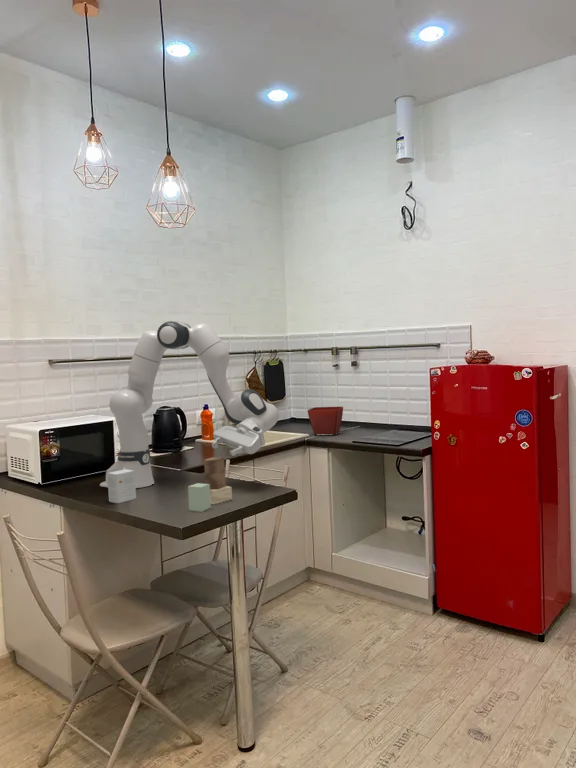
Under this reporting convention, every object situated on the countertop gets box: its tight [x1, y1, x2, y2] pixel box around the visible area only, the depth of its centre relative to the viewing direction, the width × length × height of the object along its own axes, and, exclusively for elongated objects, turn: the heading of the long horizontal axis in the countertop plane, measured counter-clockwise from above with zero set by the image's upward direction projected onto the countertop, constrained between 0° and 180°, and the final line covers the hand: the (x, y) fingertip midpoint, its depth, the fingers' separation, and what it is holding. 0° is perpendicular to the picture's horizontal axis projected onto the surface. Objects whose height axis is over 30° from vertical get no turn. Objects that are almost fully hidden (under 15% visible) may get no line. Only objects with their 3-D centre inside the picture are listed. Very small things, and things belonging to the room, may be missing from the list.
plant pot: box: [307, 406, 344, 435], centre depth 368 cm, size 19×19×17 cm
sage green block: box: [187, 482, 212, 513], centre depth 192 cm, size 5×5×8 cm
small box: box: [107, 469, 137, 504], centre depth 210 cm, size 8×6×10 cm
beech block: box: [210, 485, 233, 504], centre depth 203 cm, size 8×8×5 cm
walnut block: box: [203, 456, 227, 489], centre depth 202 cm, size 5×5×10 cm
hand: (222, 450), depth 215 cm, fingers open, 8 cm apart
